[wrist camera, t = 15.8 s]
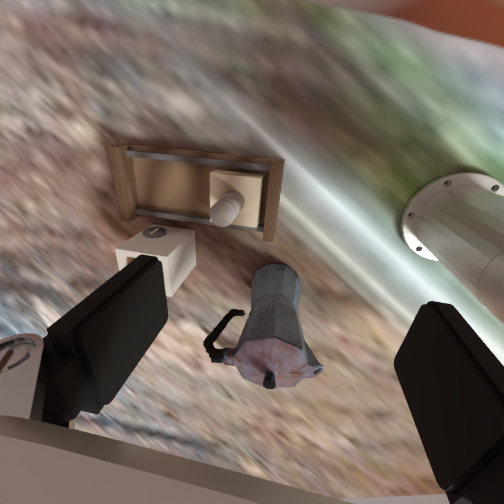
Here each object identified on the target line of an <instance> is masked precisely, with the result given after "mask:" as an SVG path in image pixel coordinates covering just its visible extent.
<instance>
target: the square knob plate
mask: <svg viewBox="0 0 504 504" xmlns="http://www.w3.org/2000/svg"><path fill="white" fill-rule="evenodd" d="M263 182H264V174H256V173H247V172H238V171H229V170H220V169H216V170H214V171H212V172H210V212H209V215H210V222H213V223H214V224H215V225H217V226H220V227H226V226H229V225H230V224H232V225H239V226H246V227H253V228H257V226H258V224H259V222H260V214H261V204H262V193H263Z"/></svg>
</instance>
